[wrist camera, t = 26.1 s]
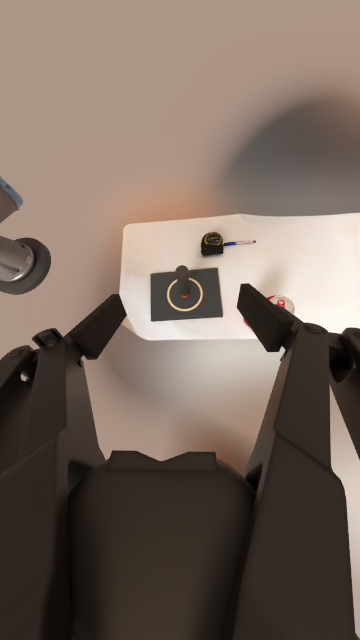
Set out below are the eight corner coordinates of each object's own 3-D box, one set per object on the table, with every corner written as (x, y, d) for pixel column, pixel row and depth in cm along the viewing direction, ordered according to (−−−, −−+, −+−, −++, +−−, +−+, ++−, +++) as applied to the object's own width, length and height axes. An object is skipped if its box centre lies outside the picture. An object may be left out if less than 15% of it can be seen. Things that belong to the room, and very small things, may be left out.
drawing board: (151, 321, 41) (150, 320, 40) (151, 275, 44) (150, 273, 43) (222, 316, 39) (223, 316, 38) (216, 269, 42) (217, 267, 41)
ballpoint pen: (223, 246, 43) (223, 244, 42) (222, 244, 43) (223, 242, 42) (255, 243, 42) (256, 240, 41) (254, 240, 42) (256, 238, 42)
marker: (180, 298, 40) (175, 277, 27) (180, 290, 41) (175, 265, 28) (189, 297, 40) (188, 276, 27) (188, 289, 41) (187, 264, 28)
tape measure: (200, 258, 43) (201, 250, 39) (200, 240, 44) (201, 231, 41) (221, 257, 43) (224, 249, 39) (220, 239, 44) (223, 229, 40)
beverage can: (241, 326, 38) (264, 319, 26) (243, 306, 39) (266, 291, 27) (263, 330, 37) (297, 324, 26) (265, 309, 38) (298, 295, 27)
